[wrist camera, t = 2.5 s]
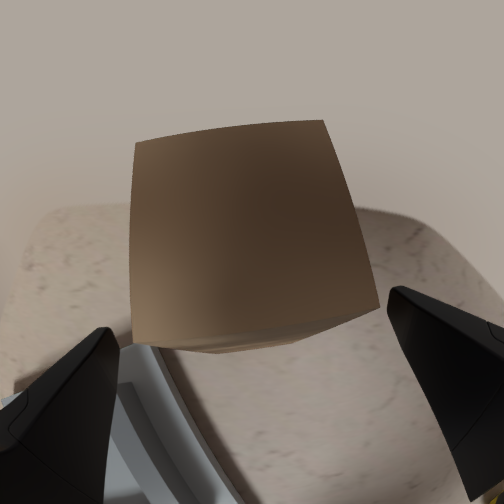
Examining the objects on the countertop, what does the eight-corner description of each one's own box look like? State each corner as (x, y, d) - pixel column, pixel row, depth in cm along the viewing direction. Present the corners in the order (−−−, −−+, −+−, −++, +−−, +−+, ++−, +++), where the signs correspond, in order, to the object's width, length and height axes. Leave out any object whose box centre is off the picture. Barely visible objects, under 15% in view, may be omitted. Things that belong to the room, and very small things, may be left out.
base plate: (258, 520, 13) (259, 552, 9) (96, 550, 11) (74, 571, 7) (154, 339, 17) (129, 333, 14) (13, 399, 15) (-21, 400, 11)
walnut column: (291, 343, 17) (380, 307, 5) (216, 353, 17) (132, 342, 5) (279, 271, 19) (322, 120, 7) (207, 281, 19) (135, 142, 6)
